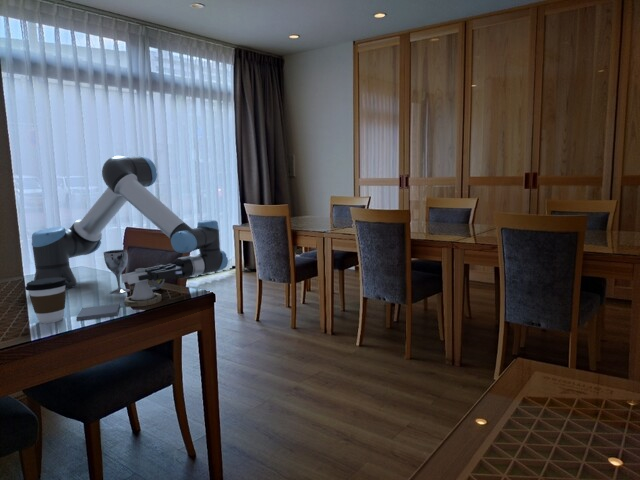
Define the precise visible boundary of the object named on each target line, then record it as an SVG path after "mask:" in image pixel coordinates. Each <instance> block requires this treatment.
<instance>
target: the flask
mask: <svg viewBox="0 0 640 480" xmlns="http://www.w3.org/2000/svg"><path fill="white" fill-rule="evenodd" d="M146 268H147V267H145V268H144V267H139V268H135V269H134V272H136V274H139V273H144V272H145V270H146ZM154 293H155V292H154V291H152V289H151V287H150V282H149V280H147V281H142V282H137V283H134V288H133V291H132V295H131V296H132V298H131V300H135V301H143V300H149V299H153V297H154V296H155V295H154Z"/></svg>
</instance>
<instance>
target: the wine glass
mask: <svg viewBox="0 0 640 480" xmlns="http://www.w3.org/2000/svg"><path fill="white" fill-rule="evenodd" d="M128 257H129V255H128V250H127V249H114V250H108V251H104V252H103V259H104V263H105V266H106V267H107V270H109V271H110V272H111V273H112V274H113V275H114V276H115V277H116V283H117V288H116V289H114V290H111V291H109V294H111V295H118V294H125V293H128V292H130V291H131V290H130V289H128V288H122V287H121V274H123V272H124V270H125V269H126V267H127V265H128V260H129V259H128Z"/></svg>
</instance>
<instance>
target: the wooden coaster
mask: <svg viewBox="0 0 640 480" xmlns="http://www.w3.org/2000/svg"><path fill="white" fill-rule="evenodd" d="M153 293H154V295H155V296H154V297H153V298H150V299H147V300H131V298H132V295H130V296H128V297H125V298H124V301H123V302H124V306H126V307H134V308H135V307H139V308H140V307H147V306H150V305H151V306H152V305H155V304H157V303H158V304H159V303H160V302H161V301H162V294H160V293H158V292H153Z"/></svg>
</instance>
